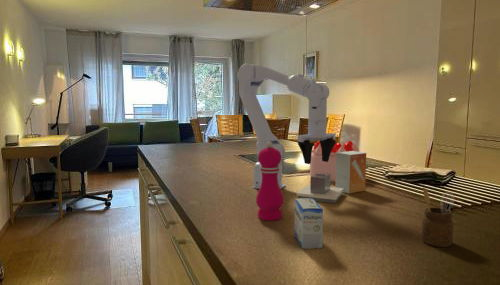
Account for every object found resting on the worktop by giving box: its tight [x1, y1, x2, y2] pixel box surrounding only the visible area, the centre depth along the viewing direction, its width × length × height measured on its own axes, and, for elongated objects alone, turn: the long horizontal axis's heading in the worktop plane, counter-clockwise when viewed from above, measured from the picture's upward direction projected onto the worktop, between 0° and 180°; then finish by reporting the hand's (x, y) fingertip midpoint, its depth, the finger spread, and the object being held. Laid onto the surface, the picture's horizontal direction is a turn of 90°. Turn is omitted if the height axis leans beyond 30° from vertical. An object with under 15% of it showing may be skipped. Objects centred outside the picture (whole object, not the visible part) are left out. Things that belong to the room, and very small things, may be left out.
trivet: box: [296, 184, 344, 204], centre depth 114 cm, size 12×12×2 cm
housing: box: [309, 173, 331, 194], centre depth 113 cm, size 4×7×6 cm, turn 154°
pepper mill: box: [255, 142, 285, 222], centre depth 94 cm, size 7×7×20 cm
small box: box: [335, 151, 367, 195], centre depth 121 cm, size 8×6×13 cm
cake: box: [309, 140, 360, 183], centre depth 143 cm, size 20×20×14 cm
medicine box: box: [293, 198, 324, 250], centre depth 77 cm, size 8×4×9 cm, turn 5°
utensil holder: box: [421, 186, 454, 248], centre depth 76 cm, size 6×6×12 cm
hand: (316, 162), depth 117 cm, fingers open, 7 cm apart
